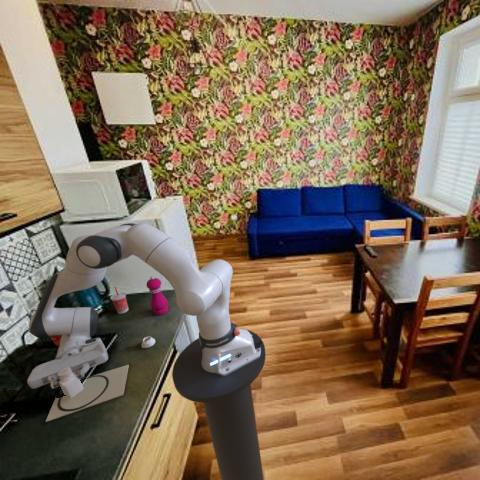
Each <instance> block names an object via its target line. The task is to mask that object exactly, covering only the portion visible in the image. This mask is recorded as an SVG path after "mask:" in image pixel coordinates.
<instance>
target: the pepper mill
mask: <svg viewBox="0 0 480 480" xmlns="http://www.w3.org/2000/svg"><path fill="white" fill-rule="evenodd" d="M146 288H147V289H148V291H149V294H151V301H150V308H151V309H152V311H153V314H154V315H156V316H161V315H164V314H166V313H167V312H168V311H169V306H168V305H169V302H168V300H167V297H166V296H164V295H163V293H162V281H161V279H160V278H157V277H155V276H154V275H151V276H150V277H149V279H148V280H147V282H146Z"/></svg>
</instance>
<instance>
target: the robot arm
mask: <svg viewBox="0 0 480 480" xmlns="http://www.w3.org/2000/svg"><path fill="white" fill-rule="evenodd" d="M131 256H134V257H137V258H138V259H140V260H141V261H142V262H144V263H145V264H146V265H148V266H149V267H150V268H152V269H153V270H154V271H156V272H158V273H159V274H160V275H161V276H162V277H163V278H165V279H166V280H167V282H169V284H170V286H171V287H172V289H173V291H174V294H175V303H176V306H177V308H178V309H179V311H181V313H183V314H185V315H188V316H192V317H196V318H195V319H196V323H197V327H198V338H199V341H200V345H201V347H202V361H201V365H202V367H203V369H204V370H206V371H208V372H211V373H217V374H219V375H221V376H226V375H227V374H229V373H231V372H233V371H235V370H237V369H239V368H241V367H242V366H244V365H246V364H248V363H250V362H252V361H254V360H255V359H257V358H259V357H260V354H261V348H260V344H261V343H262V341H263V340H262V341H261V340H260V339H259V338H258V336H259V335H258V334H257V333H255V335H251V334H250V333H249V332H248V331H247V330H248V329H246V328H242V329H240V328H241V327H238V326H237V323H235V322H236V321H235V320H232V322H231V318H230V317H231V316H230V294H231V284H232V278H233V274H234V269H233V267H232V265H231V264H230V263H229V262H228V261H226V260H224V259H220V258H218V259H214V260H212V261H209V262H208V263H206V264H205V265H203V266H202V268H200V269H198V268H197V267H196V266H195V265H194V263H193V262H192V252H191V251H190V250H189V249H188V248H186V247H185V246H183V245H182V244H180V243H179V242H178V241H176V240H175V239H174V238H173V237H171V236H170V235H168V234H167V233H165V232H164V231H162V230H161V229H159V228H157V227H155V226H153V225H151V224H149V223H146V222H138V223H133V222H129V223H123V224H120V225H118V226H114V227H109V228H105V229H103V230H100V231H98V232H96V233H95V234H84V235H80V236H78V237H76V238H75V239H74V240H73V241H71V244H70V246H69V248H68V252H67V254H66V258H65V264H64V265H65V266H64V268H63V269H62V270H61V271H60V272H57V273H55V274H52V276H51V277H50V278H49V279H48V282H47V284H46V286H45V287H44V289H43V293H42V294H41V295H42V296H41V298H40V300H39V302H38V305H37V308H36V310H35V312H34V313H33V315H32V316H31V317H30V320H29V323H28V333H29V334H31V335H32V336H33V337H35V338H38V339H41V338H48V337H50V336H55V335H62V338H61V341H60V346H59V347H58V349H57V352H56V355H55V359H52V360H49V361H47V362H43V363H41V364H39V365H36V366H35V367H34V368H32V370H31V372H30V374H29V375H28V377H27V380H26V383H27V385H28V387H29V388H30V389H38V388H41V387H43V386H46V385H48V384H50V388H51V389H52V390H53V389H56V388H58V387H59V388H60V385H59V384H58V382H59V381H60V378H59V376H58V372H59V371H61V370H62V369H64V368H71V370H72V372H73V373H74V374H76V375H77V377H78V379H83V378H85V374H86V373H87V372H88V371H89V370H90V368H93V367H96V366H99V365H101V364H104V363H107V361H108V360H109V354H108V351H107V349H106V346H105V344H104V342H103V340H102V338H101V337H94V338H93V336H94V335H95V334H96V333H97V331H98V325H99V324H98V323H99V312H98V311H97V310H96V309H95V308H94V307H91V306H90V307H89V306H88V307H87V306H84V307H83V306H82V307H55V305H56V304H57V300H58V298H60V297H61V296H63V295H66V294H69V293H73V292H79V291H84V290H88V289H91V288H93V287H95V286H97V285H98V284H100V283H101V282H102V281H103V280H104V278H105V277H106V273H107V271H108V268H109V267H111V266H113V265H114V264H116V263H118V262H120V261H123V260H126V259H128V258H129V257H131ZM257 335H258V336H257Z"/></svg>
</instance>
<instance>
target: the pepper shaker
mask: <svg viewBox="0 0 480 480" xmlns="http://www.w3.org/2000/svg"><path fill="white" fill-rule="evenodd" d="M58 376H59V378H60V379H59V380H58V384H59V388H60V387H61V389H62V391H63V393H64V395H66V396H68V397H70V398H72V397H74V396H75V395H77V394H78V393H79V392H81V391H82V390H83V389H84V387H83V385H82V383H81V381H80V380H81V378H79V379H78V377H77V373H75V374H74V373H73V372H72V370H71V368H64V369H62V370H61V371H59V372H58Z"/></svg>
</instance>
